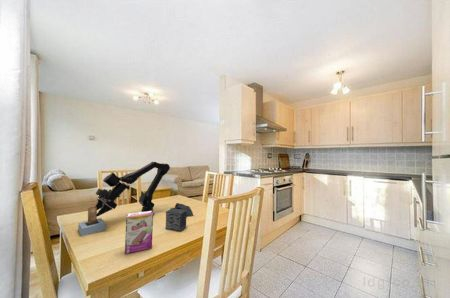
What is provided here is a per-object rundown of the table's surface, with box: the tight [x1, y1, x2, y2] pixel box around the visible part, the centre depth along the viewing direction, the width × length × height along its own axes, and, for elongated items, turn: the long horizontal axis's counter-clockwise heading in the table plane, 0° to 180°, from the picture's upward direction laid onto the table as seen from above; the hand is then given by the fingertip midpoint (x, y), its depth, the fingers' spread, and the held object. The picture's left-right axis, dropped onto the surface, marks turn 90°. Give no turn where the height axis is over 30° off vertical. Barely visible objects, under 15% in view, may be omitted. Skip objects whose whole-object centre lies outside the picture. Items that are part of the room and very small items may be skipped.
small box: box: [165, 208, 187, 233], centre depth 102 cm, size 11×6×10 cm, turn 71°
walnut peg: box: [87, 206, 98, 226], centre depth 98 cm, size 4×4×12 cm
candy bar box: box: [124, 211, 154, 255], centre depth 80 cm, size 11×5×16 cm, turn 118°
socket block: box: [77, 217, 106, 237], centre depth 98 cm, size 10×10×4 cm
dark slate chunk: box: [169, 202, 194, 217], centre depth 129 cm, size 15×22×5 cm
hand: (94, 214), depth 99 cm, fingers open, 9 cm apart
